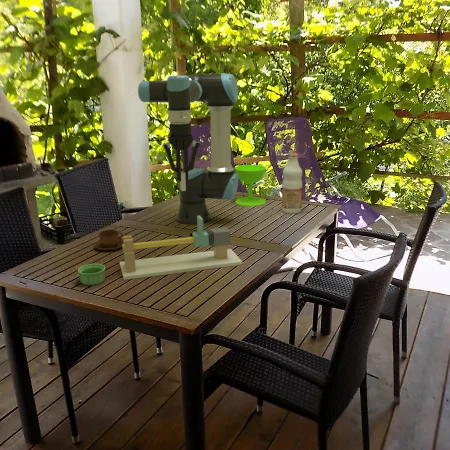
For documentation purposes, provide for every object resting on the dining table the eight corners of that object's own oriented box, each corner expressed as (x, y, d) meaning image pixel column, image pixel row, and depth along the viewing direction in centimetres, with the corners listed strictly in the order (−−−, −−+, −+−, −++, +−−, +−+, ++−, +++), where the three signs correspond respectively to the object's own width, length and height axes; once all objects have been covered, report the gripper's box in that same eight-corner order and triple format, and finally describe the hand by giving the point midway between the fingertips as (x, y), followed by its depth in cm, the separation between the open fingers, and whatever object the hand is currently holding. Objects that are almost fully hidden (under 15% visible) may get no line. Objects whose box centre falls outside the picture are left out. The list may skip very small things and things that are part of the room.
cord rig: (119, 264, 184) (117, 232, 180) (230, 251, 195) (230, 221, 191) (123, 279, 171) (120, 245, 167) (242, 264, 182) (242, 232, 178)
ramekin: (90, 273, 177) (88, 262, 175) (111, 277, 173) (110, 265, 172) (73, 283, 169) (71, 271, 167) (95, 287, 165) (94, 275, 164)
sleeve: (192, 242, 184) (191, 216, 181) (205, 241, 186) (205, 214, 183) (195, 247, 180) (194, 220, 177) (209, 245, 181) (208, 218, 178)
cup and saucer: (107, 240, 210) (106, 226, 208) (131, 244, 204) (130, 230, 203) (88, 250, 199) (86, 235, 198) (112, 254, 194) (111, 239, 192)
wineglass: (250, 208, 253) (250, 172, 247) (228, 201, 264) (228, 167, 259) (272, 202, 263) (272, 167, 257) (250, 196, 274) (250, 163, 269)
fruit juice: (277, 210, 247) (278, 153, 238) (292, 207, 252) (293, 151, 244) (290, 215, 240) (292, 156, 231) (305, 211, 245) (307, 153, 236)
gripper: (163, 124, 168) (166, 194, 175) (201, 122, 171) (203, 190, 179) (159, 122, 175) (163, 189, 182) (196, 120, 178) (198, 186, 185)
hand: (183, 190), depth 180 cm, fingers closed
